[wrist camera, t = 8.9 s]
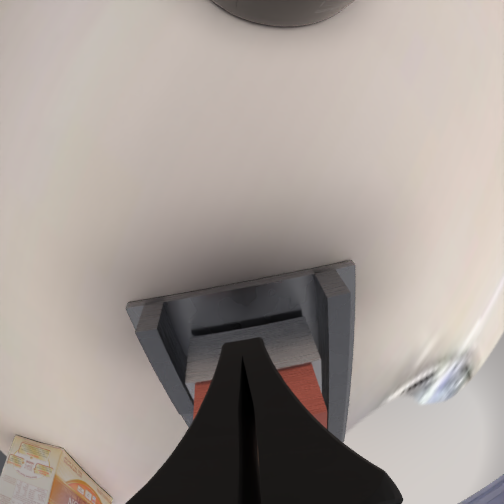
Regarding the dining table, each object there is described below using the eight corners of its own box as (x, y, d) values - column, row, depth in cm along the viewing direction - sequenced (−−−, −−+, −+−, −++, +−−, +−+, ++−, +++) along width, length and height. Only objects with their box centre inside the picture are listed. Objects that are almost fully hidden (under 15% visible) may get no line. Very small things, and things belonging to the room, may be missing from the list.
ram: (308, 370, 16) (334, 453, 11) (210, 388, 16) (211, 473, 11) (304, 316, 14) (338, 406, 9) (189, 337, 14) (181, 432, 9)
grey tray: (342, 437, 22) (355, 475, 18) (213, 460, 21) (215, 499, 18) (351, 260, 14) (388, 307, 11) (128, 302, 14) (105, 358, 11)
